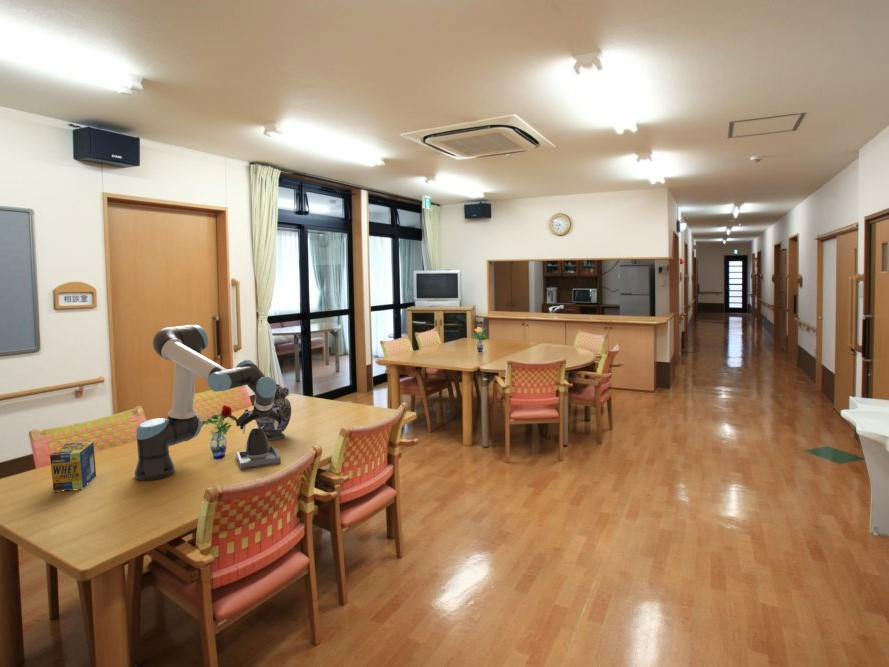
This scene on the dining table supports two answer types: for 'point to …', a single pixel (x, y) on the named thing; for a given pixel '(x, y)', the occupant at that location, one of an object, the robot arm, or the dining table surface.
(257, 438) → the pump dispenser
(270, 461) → the tray
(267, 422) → the decorative vase
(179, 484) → the dining table surface
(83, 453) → the protein box
